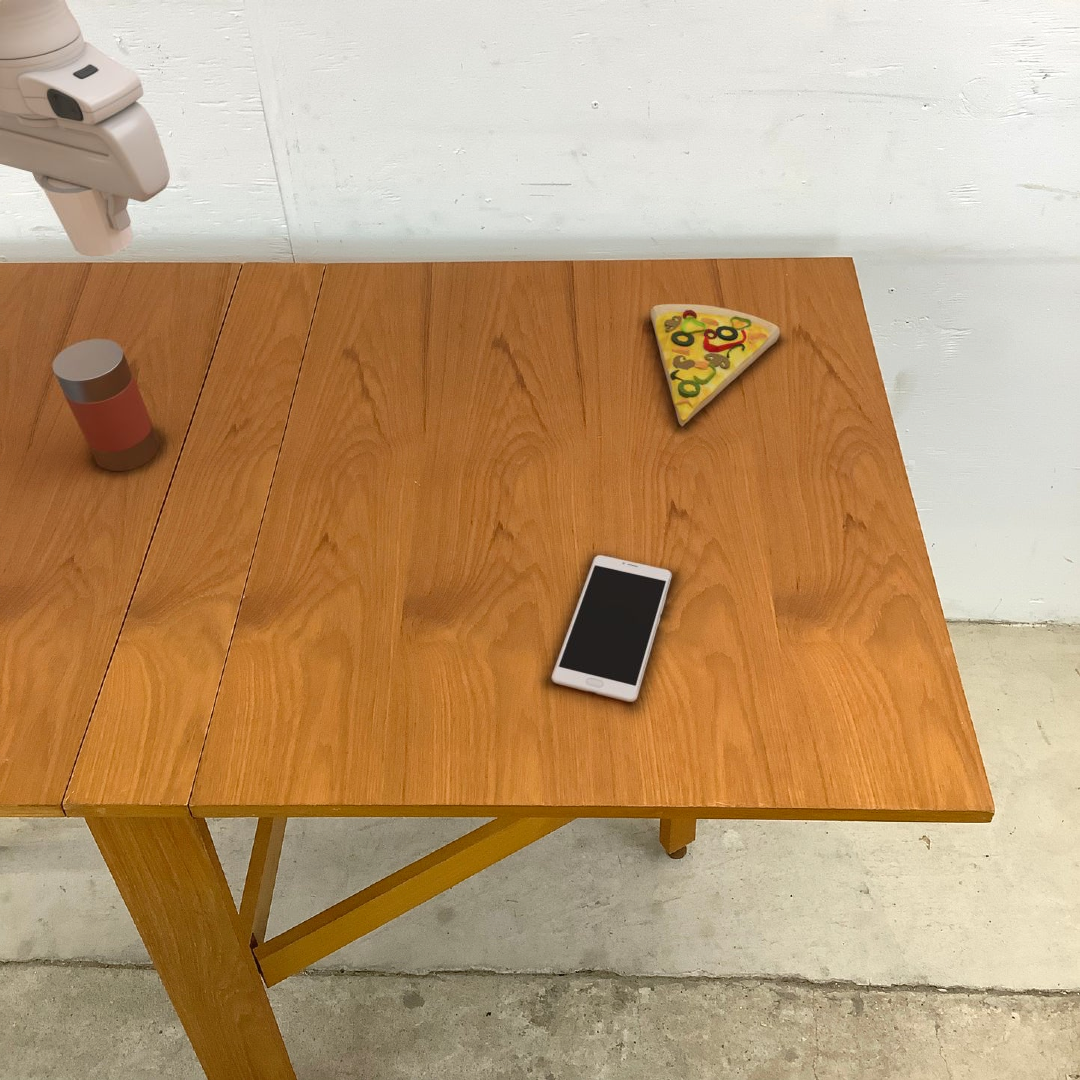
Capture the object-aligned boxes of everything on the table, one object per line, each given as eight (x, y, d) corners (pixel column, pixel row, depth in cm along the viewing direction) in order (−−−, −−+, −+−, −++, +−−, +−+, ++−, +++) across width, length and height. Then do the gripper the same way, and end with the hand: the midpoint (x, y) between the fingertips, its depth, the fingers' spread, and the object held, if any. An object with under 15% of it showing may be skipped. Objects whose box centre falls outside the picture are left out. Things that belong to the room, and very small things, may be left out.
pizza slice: (780, 331, 117) (784, 310, 115) (751, 442, 104) (755, 421, 102) (654, 309, 121) (655, 288, 118) (610, 414, 107) (611, 393, 105)
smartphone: (549, 679, 83) (595, 552, 93) (549, 684, 84) (595, 557, 93) (636, 701, 82) (673, 570, 91) (635, 705, 82) (672, 574, 92)
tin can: (81, 460, 103) (36, 369, 95) (125, 422, 107) (86, 331, 99) (129, 479, 101) (88, 388, 92) (173, 440, 105) (138, 349, 96)
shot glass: (121, 262, 94) (96, 194, 89) (54, 257, 95) (25, 189, 90) (151, 225, 99) (128, 158, 94) (87, 220, 100) (61, 154, 94)
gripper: (-76, 67, 86) (-8, 212, 96) (102, 109, 80) (154, 259, 90) (-20, 41, 90) (40, 183, 100) (154, 79, 84) (198, 227, 94)
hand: (95, 220), depth 95 cm, fingers closed on shot glass, 5 cm apart
